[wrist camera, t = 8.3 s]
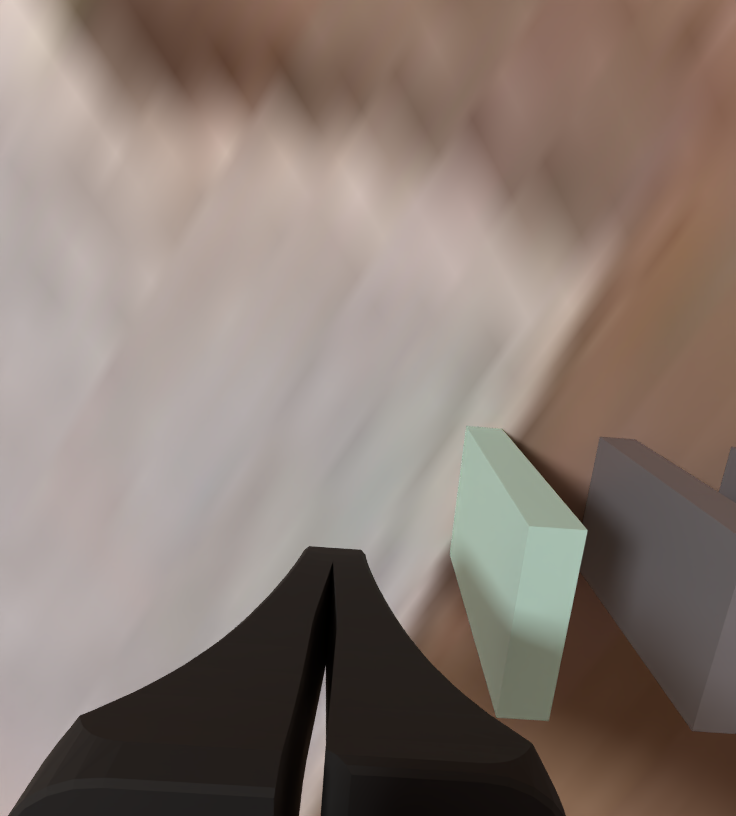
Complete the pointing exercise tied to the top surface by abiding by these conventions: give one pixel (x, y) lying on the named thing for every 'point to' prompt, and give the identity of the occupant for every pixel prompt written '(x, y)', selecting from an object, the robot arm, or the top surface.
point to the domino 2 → (729, 477)
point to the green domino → (514, 571)
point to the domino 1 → (667, 575)
